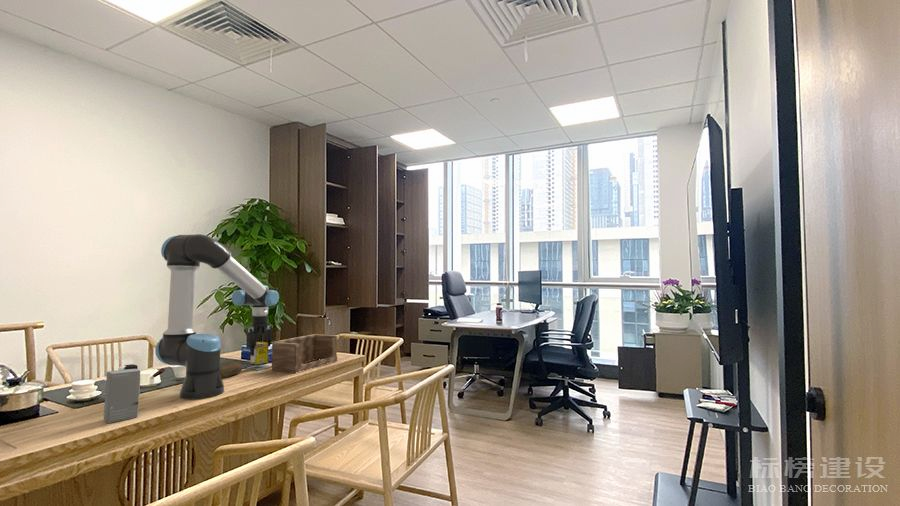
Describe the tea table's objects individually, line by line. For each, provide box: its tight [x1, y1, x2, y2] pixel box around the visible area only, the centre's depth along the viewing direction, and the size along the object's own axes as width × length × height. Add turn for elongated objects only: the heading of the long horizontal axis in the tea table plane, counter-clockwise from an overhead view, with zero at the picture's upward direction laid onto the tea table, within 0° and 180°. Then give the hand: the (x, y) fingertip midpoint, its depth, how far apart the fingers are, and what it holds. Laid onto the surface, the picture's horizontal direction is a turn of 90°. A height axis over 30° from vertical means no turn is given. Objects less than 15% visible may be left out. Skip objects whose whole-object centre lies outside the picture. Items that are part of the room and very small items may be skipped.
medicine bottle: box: [117, 363, 141, 396], centre depth 162 cm, size 7×7×12 cm
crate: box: [271, 333, 339, 374], centre depth 216 cm, size 31×16×14 cm, turn 155°
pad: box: [245, 364, 272, 372], centre depth 210 cm, size 9×9×1 cm
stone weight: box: [219, 361, 243, 379], centre depth 192 cm, size 15×7×7 cm, turn 162°
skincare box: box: [103, 368, 141, 424], centre depth 137 cm, size 8×7×16 cm
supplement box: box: [250, 341, 269, 366], centre depth 210 cm, size 6×6×11 cm
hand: (259, 360), depth 210 cm, fingers closed on supplement box, 6 cm apart
